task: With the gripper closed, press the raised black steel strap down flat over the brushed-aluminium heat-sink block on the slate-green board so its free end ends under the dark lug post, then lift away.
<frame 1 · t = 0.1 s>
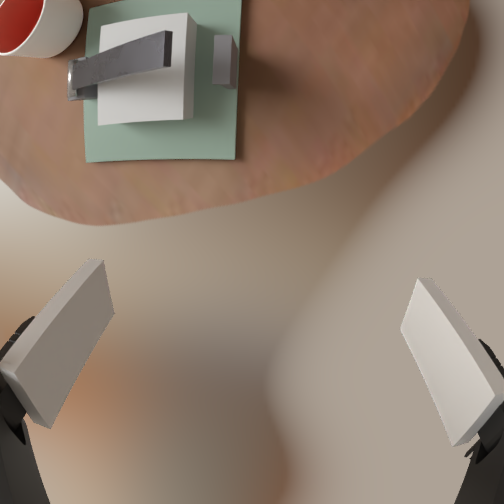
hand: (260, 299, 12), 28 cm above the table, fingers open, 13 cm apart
heatsink base: (157, 73, 32), on the table
cup: (59, 27, 28), on the table
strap: (107, 65, 23), point 11 cm above the table, hinge at 30.0°
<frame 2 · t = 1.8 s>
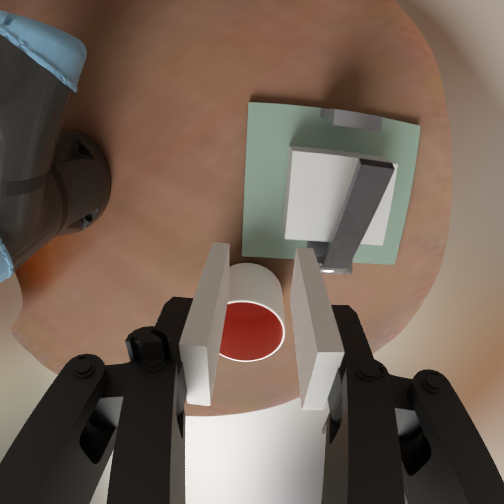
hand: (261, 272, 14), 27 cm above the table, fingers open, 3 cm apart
heatsink base: (331, 187, 39), on the table
cup: (247, 288, 46), on the table
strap: (351, 227, 30), point 11 cm above the table, hinge at 30.0°
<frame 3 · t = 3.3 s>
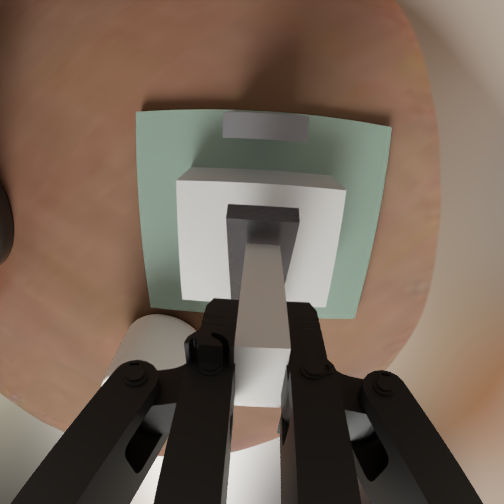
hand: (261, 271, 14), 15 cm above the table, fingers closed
heatsink base: (258, 220, 29), on the table
cup: (168, 340, 36), on the table
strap: (255, 299, 20), point 11 cm above the table, hinge at 30.0°, touching gripper
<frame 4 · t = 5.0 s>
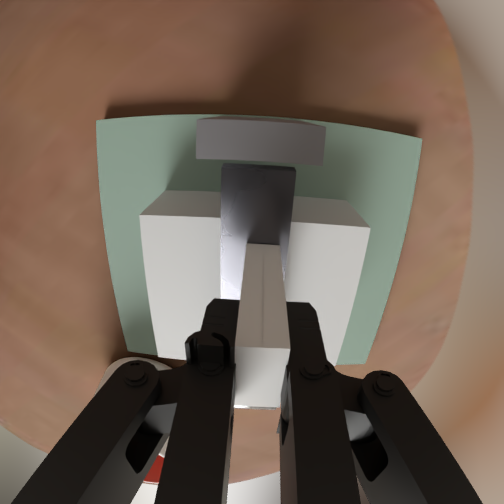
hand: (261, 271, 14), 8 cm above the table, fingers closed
heatsink base: (252, 255, 23), on the table
cup: (151, 382, 30), on the table
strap: (249, 322, 17), point 7 cm above the table, hinge at 3.6°, touching gripper
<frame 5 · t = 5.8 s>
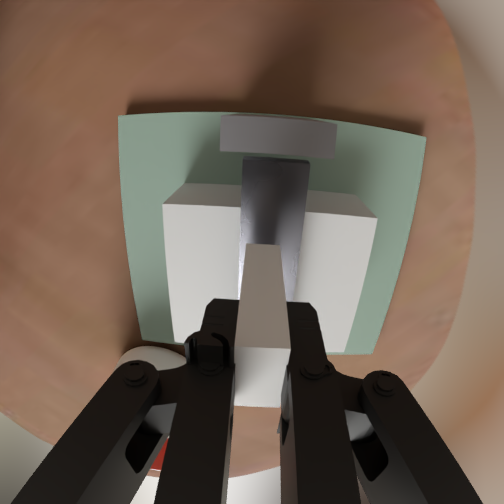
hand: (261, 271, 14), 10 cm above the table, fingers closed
heatsink base: (265, 246, 24), on the table
cup: (163, 372, 32), on the table
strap: (264, 305, 18), point 7 cm above the table, hinge at 3.6°
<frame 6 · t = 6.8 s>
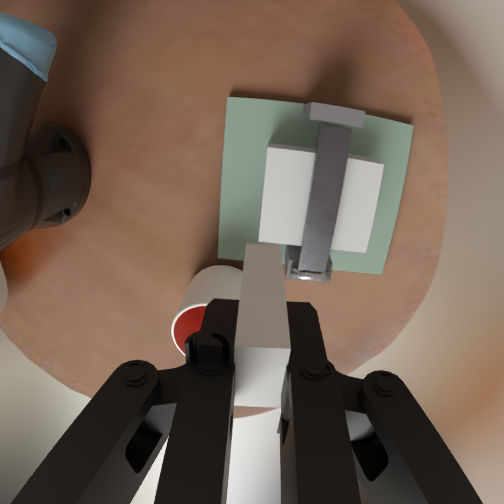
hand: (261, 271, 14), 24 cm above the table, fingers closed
heatsink base: (313, 188, 37), on the table
cup: (224, 292, 44), on the table
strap: (322, 209, 30), point 7 cm above the table, hinge at 3.6°
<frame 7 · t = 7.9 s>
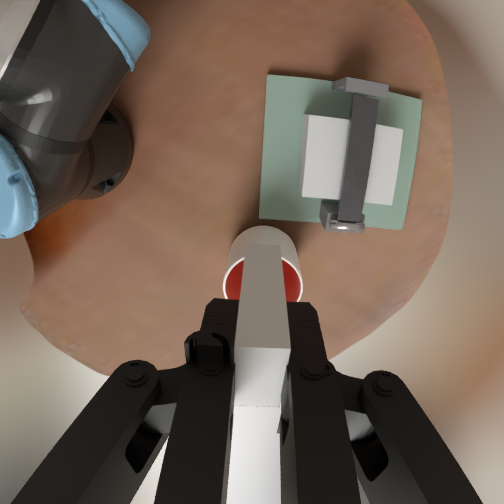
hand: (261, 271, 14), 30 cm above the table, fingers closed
heatsink base: (342, 154, 41), on the table
cup: (263, 252, 48), on the table
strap: (357, 166, 34), point 7 cm above the table, hinge at 3.6°
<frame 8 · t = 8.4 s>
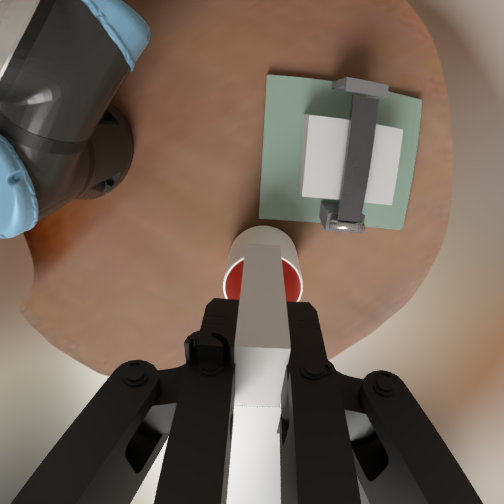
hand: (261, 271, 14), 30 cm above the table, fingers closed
heatsink base: (342, 154, 41), on the table
cup: (263, 252, 48), on the table
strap: (357, 166, 34), point 7 cm above the table, hinge at 3.6°
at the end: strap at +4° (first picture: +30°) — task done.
